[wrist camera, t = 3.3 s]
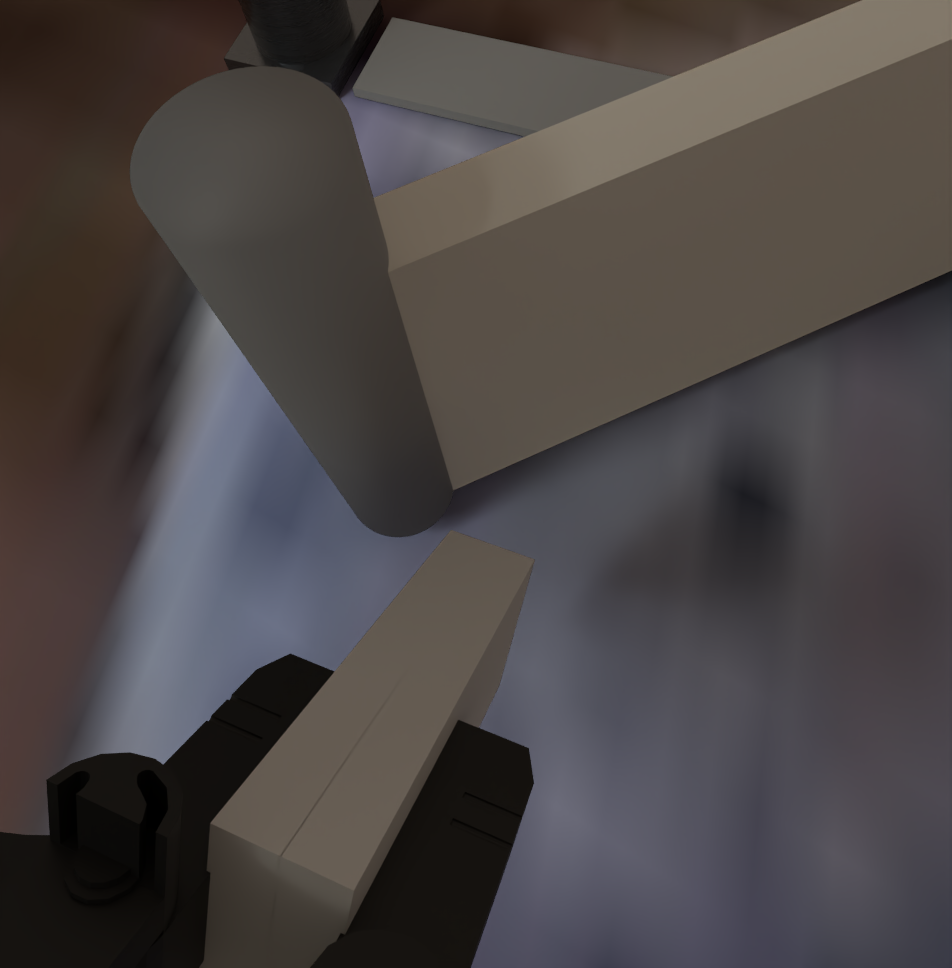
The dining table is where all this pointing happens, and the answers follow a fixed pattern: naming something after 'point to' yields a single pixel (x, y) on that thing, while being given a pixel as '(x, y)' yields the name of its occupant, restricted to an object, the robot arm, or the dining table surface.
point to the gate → (554, 245)
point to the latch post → (306, 36)
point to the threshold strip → (489, 79)
